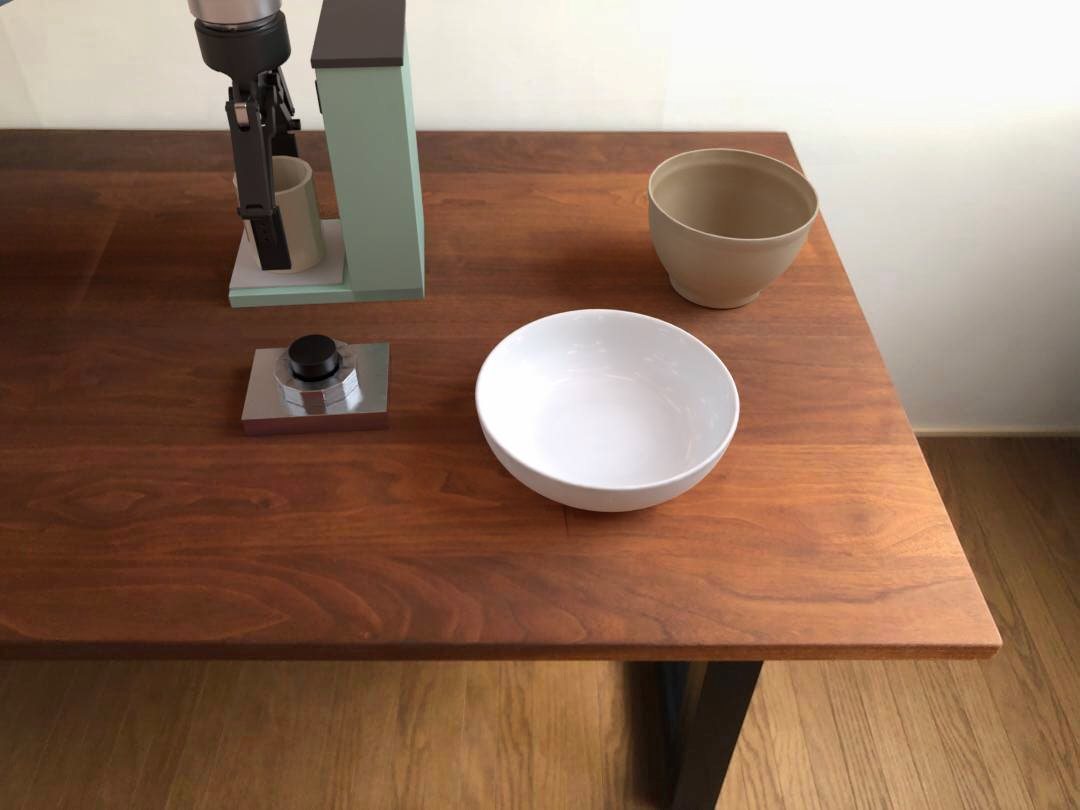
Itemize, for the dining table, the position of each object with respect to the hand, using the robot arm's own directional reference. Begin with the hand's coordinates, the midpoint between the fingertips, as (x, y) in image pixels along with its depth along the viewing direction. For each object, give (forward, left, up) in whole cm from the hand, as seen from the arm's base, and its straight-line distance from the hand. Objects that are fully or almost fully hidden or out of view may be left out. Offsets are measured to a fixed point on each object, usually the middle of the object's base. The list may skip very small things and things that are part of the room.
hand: (285, 228), depth 90 cm
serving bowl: (+29, -28, -5) cm, 40 cm away
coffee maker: (+5, 0, -5) cm, 7 cm away
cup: (0, 0, -3) cm, 3 cm away
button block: (+5, -20, -5) cm, 21 cm away
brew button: (+5, -20, -1) cm, 21 cm away
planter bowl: (+44, -6, -5) cm, 44 cm away
